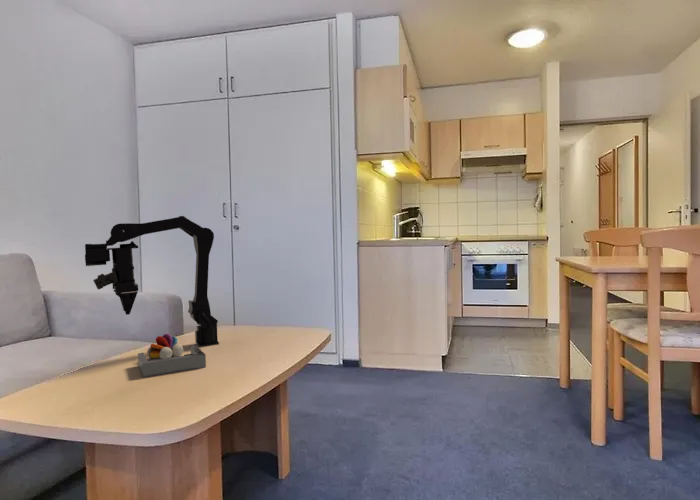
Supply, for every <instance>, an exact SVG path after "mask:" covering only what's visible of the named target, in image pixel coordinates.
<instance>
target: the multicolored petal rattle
mask: <svg viewBox="0 0 700 500" xmlns="http://www.w3.org/2000/svg"><path fill="white" fill-rule="evenodd" d="M155 342H156V343H151V344H150V346H149V347H148V348H147V350H146V355H147V357H148V358H149V359H151V360H153V359H159V358H163V359H165V358H171V357H178V356H183V355H182V354H183V353H184V348H183V345H182V344H180V343H178V337H177V336H172V335H171V334H169V333H164V334H163V335H158V336H156V338H155Z"/></svg>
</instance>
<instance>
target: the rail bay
mask: <svg viewBox="0 0 700 500" xmlns="http://www.w3.org/2000/svg"><path fill="white" fill-rule="evenodd" d="M206 359H207V358H206V353H205V352H203V351H202V350H201V349H200V348H199V346H198V345H190V353H187V354H184V355H181V356H178V357H173V356H171V358H165V359H163V358H160V357H159V358H154V359H151V360H148V358H147V357H146V355H145V353H144V352H141V353H137V360H138V361H137V365H138V368H139V371H140V373H141V375H142V378H148V377H153V376H159V375H165V374H172V373H177V372H184V371H190V370H195V369H201V368H202V369H203V368H206V367H207V360H206Z"/></svg>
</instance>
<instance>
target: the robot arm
mask: <svg viewBox="0 0 700 500" xmlns="http://www.w3.org/2000/svg"><path fill="white" fill-rule="evenodd" d="M176 229H180V230H182V231H183V232H184V233H186V234H187V235H189V236H190V237H192V239H193V246H194V251H195V255H196V258H195V277H194V279H195V281H194V282H195V284H194V296H193V299H192V300H188V310H187V313H188V314H189V316H190V318H191V319H192V320H193V321H194V322H195V323H196V324H197V325H196V330H194V339H195V342H194V343H195V344H197V346H198V347H204V346H210V345H211V346H212V345H219V344H220V342H219V341H218V338H219V337H218V319H216V318H215V317H214V316H213V315H212V314H211V305H210V301H209V297H208V287H209V286H208V285H209V262H210V254H211V249H212V247H213V245H214V244H213V243H214V239H215V234H214V232H213V230H212V229H210V228H208V227H202V225H199V224H198V223H195V222H194V221H192V220H191V219H189V218H187V217H186V216H184V215H179V216H178V217H173V218H172V217H171V218H168V219H165V218H164V219H160V220H155V221H154V220H153V221H149V222H143V223H137V222H136V223H127V222H126V223H125V222H124V223H117V224H114V225H113V226H112V227H111V229H110V232H109V233H110V236H109V238H108V239H107V240H105V243H85V245H84V249H85V250H84V251H85V254H84V261H85V267H93V266H94V267H95V266H106V265H107V262H111V257H112V268H111V272H109V273H107V274H104V273H101V274H99V275H97V278H94V279H93V283H94V285H95V286H96V289H97V290H101V289H104V288H105V287H106V286H110V285H111V286H112V290H113V292H114V294H115V295H116V296H118V298H119V300H120V304H121V307H122V310H123V312H124V314H125V315H130V314H131V311H132V310H133V307H134V303H135V300H136V298H137V295H138V292H139V284H138V283H136V278H135V272H134V270H135V266H134V259H133V258H134V255H133V249H139V246H138V245H137V244H136V243H135V242H134V240H133V239H135V238H138V237H141V236H145V235H148V234H149V235H150V234H153V233H155V234H156V233H160V232H165V231H170V230H176ZM130 240H132V241H130ZM128 241H130V242H129V243H124V242H128ZM117 243H120V244H119V247H111V246H115V245H116V244H117ZM109 246H110V248H109ZM110 251H111V256H110Z"/></svg>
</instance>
